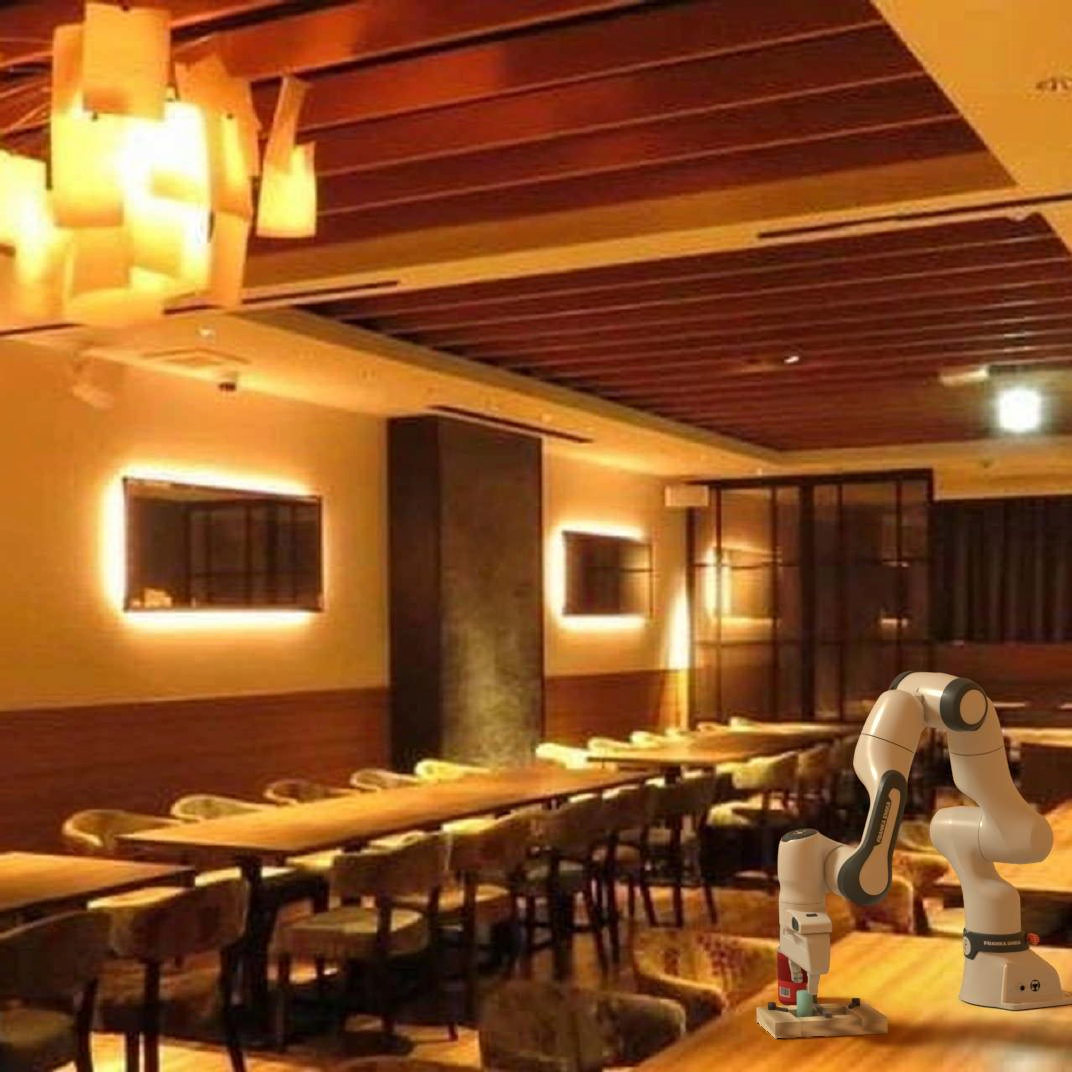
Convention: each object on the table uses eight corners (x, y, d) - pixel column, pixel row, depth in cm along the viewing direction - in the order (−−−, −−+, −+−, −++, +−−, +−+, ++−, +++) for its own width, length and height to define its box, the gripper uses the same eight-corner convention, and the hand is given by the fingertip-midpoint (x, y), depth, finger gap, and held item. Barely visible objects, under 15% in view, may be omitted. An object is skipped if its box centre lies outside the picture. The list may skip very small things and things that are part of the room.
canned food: (817, 1007, 315) (815, 952, 316) (777, 1005, 317) (776, 951, 317) (817, 998, 322) (816, 944, 323) (778, 997, 324) (777, 943, 325)
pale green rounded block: (795, 1027, 300) (794, 990, 300) (810, 1026, 300) (809, 989, 301) (800, 1031, 297) (799, 994, 297) (815, 1030, 297) (814, 993, 298)
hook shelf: (864, 1017, 307) (864, 990, 307) (887, 1033, 295) (887, 1005, 295) (756, 1022, 303) (756, 995, 304) (775, 1039, 291) (774, 1010, 292)
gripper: (770, 905, 310) (773, 976, 309) (802, 926, 290) (805, 1002, 289) (801, 904, 311) (803, 974, 310) (835, 924, 291) (837, 999, 290)
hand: (804, 987), depth 300 cm, fingers open, 8 cm apart
